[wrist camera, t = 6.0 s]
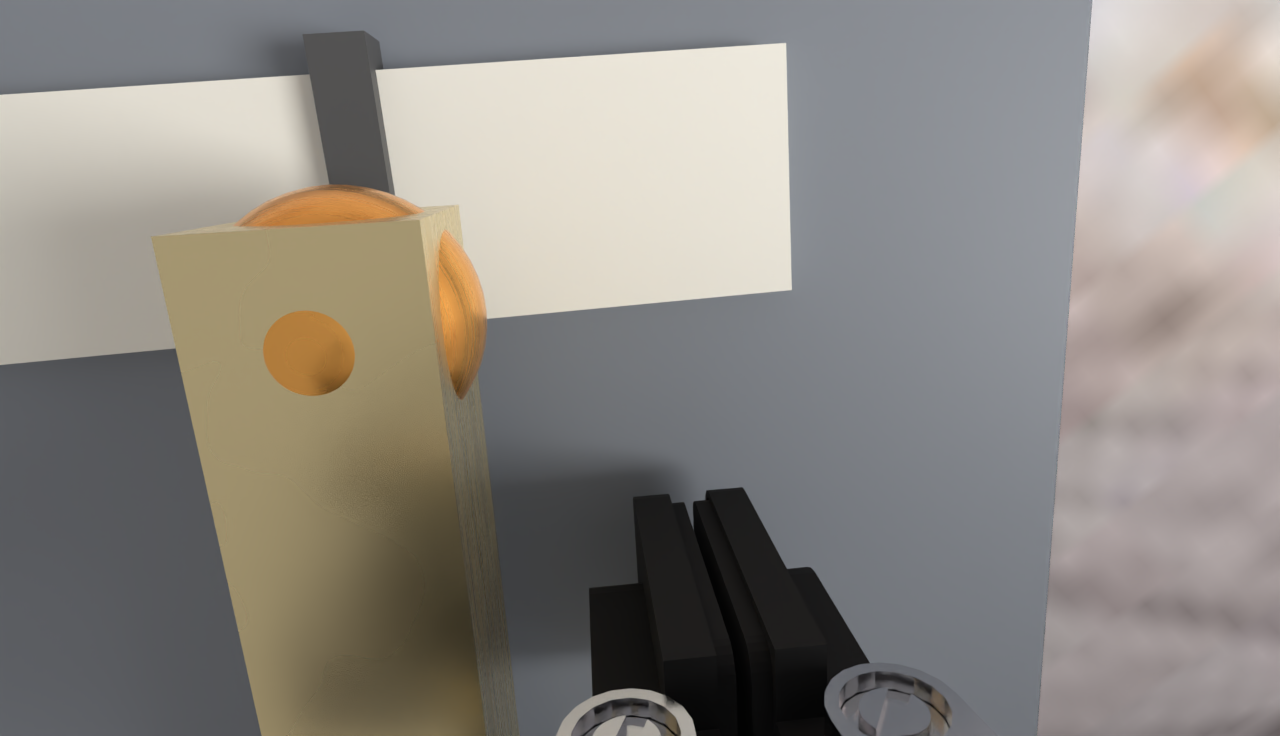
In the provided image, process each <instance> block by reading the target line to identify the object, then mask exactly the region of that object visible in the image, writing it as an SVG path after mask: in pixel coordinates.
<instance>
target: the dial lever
mask: <svg viewBox="0 0 1280 736" xmlns="http://www.w3.org/2000/svg"><path fill="white" fill-rule="evenodd" d="M151 240H152V244H153V249H154V253H155V258H156V262H157V267H158V271H159V276H160V280H161V285H162V289H163V294H164V298H165V303H166V307H167V312H168V316H169V321H170V325H171V330H172V334H173V339H174V343H175V348H176V352H177V357H178V361H179V366H180V370H181V375H182V379H183V384H184V388H185V393H186V397H187V402H188V406H189V411H190V415H191V420H192V424H193V429H194V433H195V438H196V442H197V447H198V451H199V456H200V460H201V465H202V469H203V474H204V478H205V483H206V487H207V492H208V496H209V501H210V506H211V510H212V515H213V519H214V524H215V528H216V533H217V537H218V542H219V546H220V551H221V555H222V560H223V564H224V569H225V573H226V578H227V582H228V587H229V591H230V596H231V600H232V605H233V609H234V614H235V618H236V623H237V627H238V632H239V636H240V641H241V645H242V650H243V654H244V659H245V663H246V668H247V672H248V677H249V681H250V686H251V690H252V695H253V699H254V704H255V708H256V713H257V717H258V722H259V726H260V731H261V735H262V736H520V733H519V725H518V716H517V707H516V699H515V690H514V681H513V673H512V664H511V655H510V647H509V638H508V629H507V621H506V612H505V603H504V594H503V586H502V577H501V568H500V560H499V551H498V542H497V534H496V525H495V516H494V508H493V499H492V490H491V482H490V473H489V464H488V455H487V447H486V438H485V429H484V421H483V412H482V403H481V395H480V386H479V377H478V371H479V368H480V366H481V363H482V359H483V355H484V350H485V345H486V334H487V310H486V304H485V299H484V293H483V290H482V287H481V284H480V281H479V277H478V275H477V273H476V271H475V269H474V267H473V265H472V262H471V261H470V259H469V257H468V256H467V254H466V253H465V251H464V247H463V238H462V230H461V221H460V212H459V205H445V206H428V207H417V206H416V205H414V204H412V203H410V202H408V201H407V200H405V199H402V198H400V197H397V196H395V195H392V194H390V193H387V192H383V191H380V190H376V189H372V188H367V187H360V186H353V185H329V184H328V185H320V186H312V187H306V188H303V189H299V190H295V191H291V192H288V193H285V194H282V195H280V196H278V197H275V198H273V199H270V200H268V201H266V202H264V203H263V204H261V205H259V206H258V207H256V208H254V209H253V210H251V211H250V212H249V213H247V214H246V215H245V216H244V217H243V218H241V219H240V220H239V221H238V222H233V223H227V224H221V225H215V226H209V227H203V228H198V229H192V230H186V231H180V232H174V233H168V234H163V235H157V236H151Z"/></svg>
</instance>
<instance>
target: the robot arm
mask: <svg viewBox="0 0 1280 736" xmlns="http://www.w3.org/2000/svg"><path fill="white" fill-rule="evenodd" d="M633 511H634V527H635V542H636V557H637V573H638V583H634V584H624V585H613V586H603V587H592V588H589V608H590V638H591V669H592V697H591V698H589V699H588V700H586V701H584V702H583V703H581V704H579V705H578V706H576V707H575V708H574V709H573V710H572V711H571V712H570V713H569V714H568V715H567V716H566V717H565V719H564V720H563V721H562V723H561V726H560V728H559V730H558V732H557V734H556V736H998V735H997V734H996V733H995V732H994V731H993V730H992V729H991V728H990V727H989V726H988V725H987V724H986V723H985V722H984V721H983V720H982V719H981V718H980V717H979V716H978V715H977V714H976V713H975V712H974V711H973V710H972V709H971V708H970V707H969V706H968V705H967V704H966V703H965V701H964V700H963V699H962V698H961V697H960V696H959V695H958V694H957V693H956V692H955V691H953V690H952V689H951V688H950V687H948V686H947V685H946V684H945V683H943V682H942V681H941V680H939V679H937V678H935V677H933V676H931V675H929V674H927V673H925V672H923V671H921V670H918V669H915V668H911V667H907V666H904V665H900V664H891V663H880V662H878V663H870V662H869V661H868V659H867V657H866V656H865V654H864V652H863V651H862V649H861V647H860V646H859V644H858V642H857V641H856V639H855V637H854V636H853V634H852V632H851V631H850V629H849V627H848V626H847V624H846V622H845V621H844V619H843V618H842V616H841V614H840V613H839V611H838V609H837V608H836V606H835V604H834V603H833V601H832V599H831V598H830V596H829V594H828V593H827V591H826V589H825V588H824V586H823V584H822V583H821V581H820V579H819V578H818V576H817V574H816V573H815V571H814V570H813V569H812V568H811V567H800V568H790V569H787V568H786V566H785V564H784V562H783V561H782V559H781V557H780V555H779V553H778V551H777V549H776V547H775V546H774V544H773V542H772V540H771V538H770V536H769V534H768V533H767V531H766V529H765V527H764V525H763V523H762V521H761V520H760V518H759V516H758V514H757V512H756V510H755V508H754V506H753V505H752V503H751V501H750V499H749V497H748V495H747V493H746V492H745V490H744V488H743V487H739V488H727V489H716V490H707V491H706V494H705V500H700V501H694V502H693V525H694V530H693V527H692V524H691V521H690V518H689V515H688V512H687V509H686V506H685V503H684V502H678V503H672V501H671V498H670V495H669V494H660V495H649V496H637V497H633Z"/></svg>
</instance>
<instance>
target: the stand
mask: <svg viewBox="0 0 1280 736" xmlns="http://www.w3.org/2000/svg"><path fill="white" fill-rule="evenodd" d="M1091 10H1092V0H0V736H262V735H261V731H260V726H259V722H258V717H257V713H256V708H255V704H254V699H253V695H252V690H251V686H250V681H249V677H248V672H247V668H246V663H245V659H244V654H243V650H242V645H241V641H240V636H239V632H238V627H237V623H236V618H235V614H234V609H233V605H232V600H231V596H230V591H229V587H228V582H227V578H226V573H225V569H224V564H223V560H222V555H221V551H220V546H219V542H218V537H217V533H216V528H215V524H214V519H213V515H212V510H211V506H210V501H209V496H208V492H207V487H206V483H205V478H204V474H203V469H202V465H201V460H200V456H199V451H198V447H197V442H196V438H195V433H194V429H193V424H192V420H191V415H190V411H189V406H188V402H187V397H186V393H185V388H184V384H183V379H182V375H181V370H180V366H179V361H178V357H177V352H176V348H175V343H174V339H173V334H172V330H171V325H170V321H169V316H168V312H167V307H166V303H165V298H164V294H163V289H162V285H161V280H160V276H159V271H158V267H157V262H156V258H155V253H154V249H153V244H152V240H151V236H157V235H163V234H168V233H174V232H180V231H186V230H192V229H198V228H203V227H209V226H215V225H221V224H227V223H233V222H238V221H239V220H240V219H241V218H243V217H244V216H245V215H246V214H247V213H249V212H250V211H251V210H253V209H254V208H256V207H258V206H259V205H261V204H263V203H264V202H266V201H268V200H270V199H273V198H275V197H278V196H280V195H282V194H285V193H288V192H291V191H295V190H299V189H303V188H306V187H312V186H320V185H328V184H329V185H353V186H360V187H367V188H372V189H376V190H380V191H383V192H387V193H390V194H392V195H395V196H397V197H400V198H402V199H405V200H407V201H408V202H410V203H412V204H414V205H416V206H417V207H428V206H445V205H459V212H460V221H461V230H462V238H463V247H464V251H465V253H466V254H467V256H468V257H469V259H470V261H471V262H472V265H473V267H474V269H475V271H476V273H477V275H478V277H479V281H480V284H481V287H482V290H483V293H484V299H485V304H486V310H487V334H486V345H485V350H484V355H483V359H482V363H481V366H480V368H479V371H478V377H479V386H480V395H481V403H482V412H483V421H484V429H485V438H486V447H487V455H488V464H489V473H490V482H491V490H492V499H493V508H494V516H495V525H496V534H497V542H498V551H499V560H500V568H501V577H502V586H503V594H504V603H505V612H506V621H507V629H508V638H509V647H510V655H511V664H512V673H513V681H514V690H515V699H516V707H517V716H518V725H519V733H520V736H556V734H557V732H558V730H559V728H560V726H561V723H562V721H563V720H564V719H565V717H566V716H567V715H568V714H569V713H570V712H571V711H572V710H573V709H574V708H575V707H576V706H578V705H579V704H581V703H583V702H584V701H586V700H588V699H589V698H591V697H592V669H591V638H590V608H589V588H592V587H603V586H613V585H624V584H634V583H638V573H637V557H636V542H635V527H634V511H633V497H637V496H649V495H660V494H669V495H670V498H671V501H672V503H678V502H684V503H685V506H686V509H687V512H688V515H689V518H690V521H691V524H692V527H693V530H694V525H693V502H694V501H700V500H705V494H706V491H707V490H716V489H727V488H739V487H743V488H744V490H745V492H746V493H747V495H748V497H749V499H750V501H751V503H752V505H753V506H754V508H755V510H756V512H757V514H758V516H759V518H760V520H761V521H762V523H763V525H764V527H765V529H766V531H767V533H768V534H769V536H770V538H771V540H772V542H773V544H774V546H775V547H776V549H777V551H778V553H779V555H780V557H781V559H782V561H783V562H784V564H785V566H786V568H787V569H790V568H800V567H811V568H812V569H813V570H814V571H815V573H816V574H817V576H818V578H819V579H820V581H821V583H822V584H823V586H824V588H825V589H826V591H827V593H828V594H829V596H830V598H831V599H832V601H833V603H834V604H835V606H836V608H837V609H838V611H839V613H840V614H841V616H842V618H843V619H844V621H845V622H846V624H847V626H848V627H849V629H850V631H851V632H852V634H853V636H854V637H855V639H856V641H857V642H858V644H859V646H860V647H861V649H862V651H863V652H864V654H865V656H866V657H867V659H868V661H869V662H870V663H878V662H880V663H891V664H900V665H904V666H907V667H911V668H915V669H918V670H921V671H923V672H925V673H927V674H929V675H931V676H933V677H935V678H937V679H939V680H941V681H942V682H943V683H945V684H946V685H947V686H948V687H950V688H951V689H952V690H953V691H955V692H956V693H957V694H958V695H959V696H960V697H961V698H962V699H963V700H964V701H965V703H966V704H967V705H968V706H969V707H970V708H971V709H972V710H973V711H974V712H975V713H976V714H977V715H978V716H979V717H980V718H981V719H982V720H983V721H984V722H985V723H986V724H987V725H988V726H989V727H990V728H991V729H992V730H993V731H994V732H995V733H996V734H997V735H998V736H1037V726H1038V713H1039V700H1040V686H1041V673H1042V660H1043V647H1044V633H1045V620H1046V607H1047V594H1048V580H1049V567H1050V554H1051V541H1052V527H1053V514H1054V501H1055V487H1056V474H1057V461H1058V448H1059V434H1060V421H1061V408H1062V395H1063V381H1064V368H1065V355H1066V342H1067V328H1068V315H1069V302H1070V289H1071V275H1072V262H1073V249H1074V235H1075V222H1076V209H1077V196H1078V182H1079V169H1080V156H1081V143H1082V129H1083V116H1084V103H1085V90H1086V76H1087V63H1088V50H1089V37H1090V23H1091Z"/></svg>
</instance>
